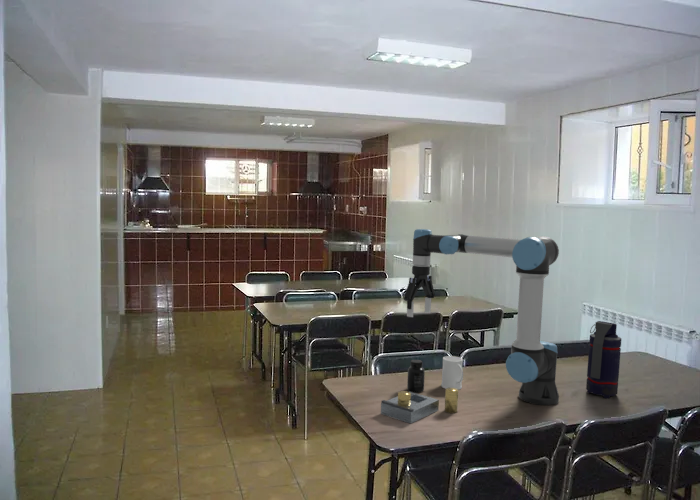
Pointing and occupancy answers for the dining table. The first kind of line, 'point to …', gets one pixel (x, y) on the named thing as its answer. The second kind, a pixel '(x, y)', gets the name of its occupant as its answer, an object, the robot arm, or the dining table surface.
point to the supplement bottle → (416, 376)
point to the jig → (409, 406)
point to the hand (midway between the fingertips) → (418, 314)
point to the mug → (452, 372)
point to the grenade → (603, 360)
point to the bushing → (451, 400)
